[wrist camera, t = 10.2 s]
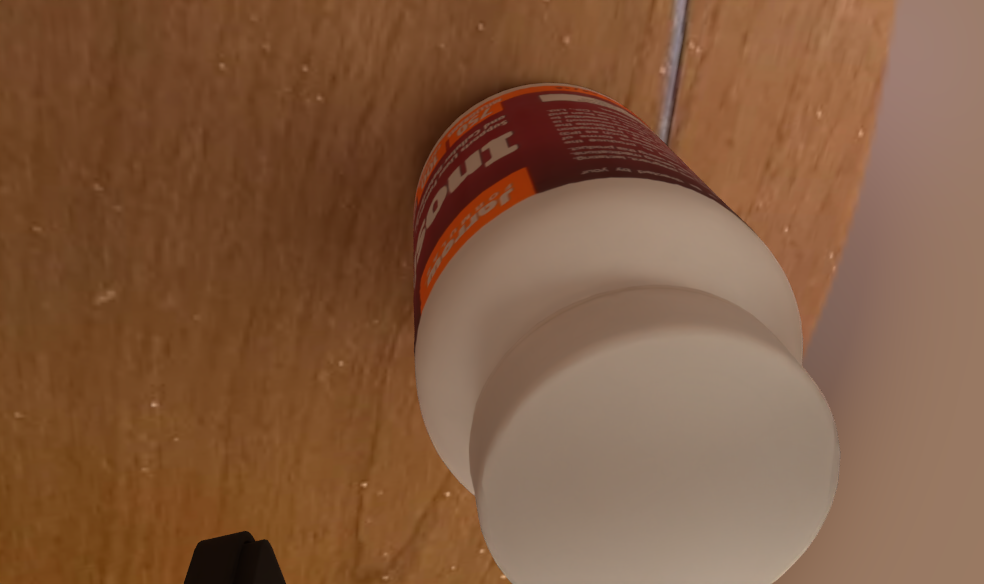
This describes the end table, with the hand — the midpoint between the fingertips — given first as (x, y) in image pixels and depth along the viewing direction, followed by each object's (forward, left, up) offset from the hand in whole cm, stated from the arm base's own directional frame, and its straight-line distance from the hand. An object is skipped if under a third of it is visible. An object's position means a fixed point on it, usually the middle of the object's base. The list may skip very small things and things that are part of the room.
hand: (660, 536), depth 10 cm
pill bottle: (0, 0, -12) cm, 12 cm away
